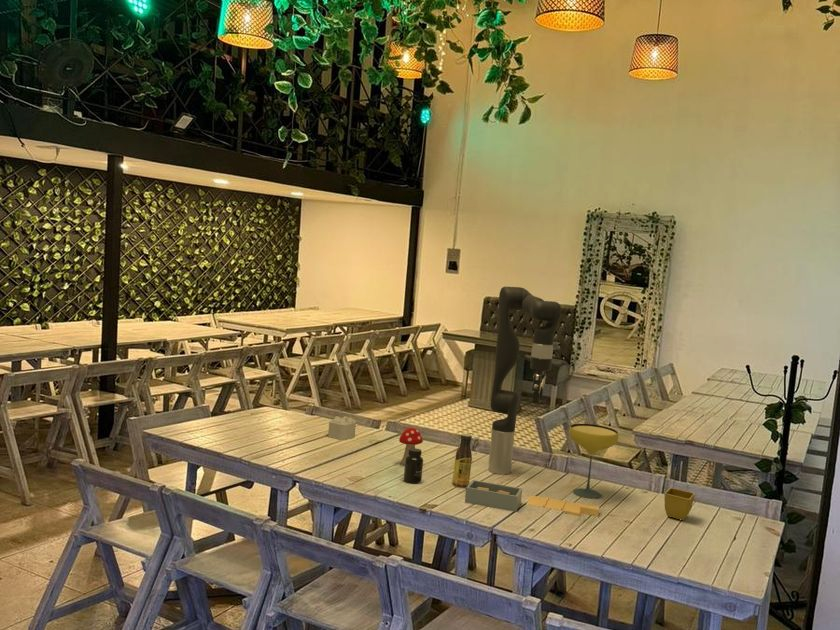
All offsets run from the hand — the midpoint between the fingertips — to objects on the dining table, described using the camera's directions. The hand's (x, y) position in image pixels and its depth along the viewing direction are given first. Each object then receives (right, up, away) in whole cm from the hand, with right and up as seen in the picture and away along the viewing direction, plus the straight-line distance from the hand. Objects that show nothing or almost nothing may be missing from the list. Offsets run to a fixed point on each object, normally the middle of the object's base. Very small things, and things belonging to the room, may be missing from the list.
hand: (537, 400), depth 263 cm
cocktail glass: (+21, -37, +14) cm, 45 cm away
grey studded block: (-77, -25, +69) cm, 106 cm away
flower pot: (+49, -41, -5) cm, 64 cm away
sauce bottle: (-27, -34, +9) cm, 44 cm away
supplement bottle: (-45, -32, +12) cm, 56 cm away
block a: (-20, -34, -6) cm, 40 cm away
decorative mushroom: (-47, -30, +33) cm, 65 cm away
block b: (-14, -35, -8) cm, 39 cm away
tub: (-17, -36, -8) cm, 40 cm away
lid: (+8, -38, -5) cm, 39 cm away
